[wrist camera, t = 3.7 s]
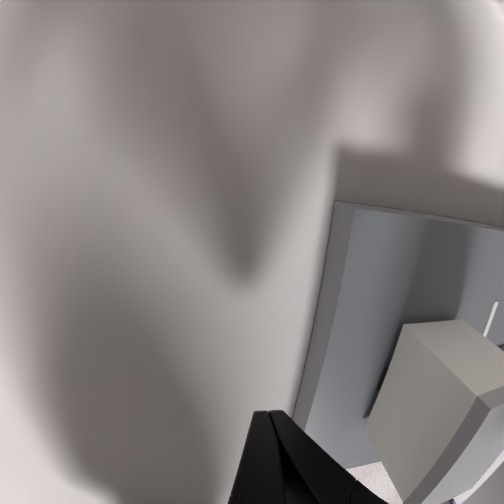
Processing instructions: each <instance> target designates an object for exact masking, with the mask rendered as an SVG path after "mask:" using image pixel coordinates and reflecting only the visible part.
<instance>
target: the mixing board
mask: <svg viewBox="0 0 504 504" xmlns="http://www.w3.org/2000/svg"><path fill="white" fill-rule="evenodd" d="M459 319H462V320H464V321H465V322H466V323H468V324H469V325H470V326H472V327H473V328H474V329H476V330H477V331H478V332H479V333H481V334H482V335H483V336H485V337H486V338H487V339H488V340H490V341H491V342H492V343H494V344H495V345H496V346H497V347H499V348H500V349H501V350H502V351H504V228H502V227H497V226H492V225H487V224H482V223H477V222H471V221H466V220H460V219H455V218H449V217H443V216H437V215H431V214H425V213H418V212H412V211H405V210H399V209H392V208H385V207H378V206H370V205H362V204H355V203H347V202H338V201H334V208H333V215H332V222H331V229H330V236H329V243H328V249H327V255H326V261H325V267H324V273H323V279H322V285H321V290H320V296H319V301H318V306H317V312H316V317H315V322H314V327H313V332H312V336H311V341H310V346H309V351H308V355H307V360H306V364H305V369H304V373H303V377H302V382H301V386H300V390H299V394H298V398H297V402H296V406H295V410H294V414H293V418H292V420H293V421H294V422H295V423H296V424H297V425H298V426H299V427H300V428H301V429H302V430H303V431H304V432H305V433H306V434H307V435H308V436H310V437H311V438H312V439H313V440H314V441H315V442H316V443H317V444H318V445H319V446H320V447H321V448H322V449H323V450H324V451H325V452H327V453H328V454H329V455H330V456H331V457H332V458H333V459H334V460H335V461H336V462H338V463H339V464H340V465H341V466H342V467H343V468H344V469H348V468H353V467H358V466H362V465H367V464H371V463H375V462H379V461H381V460H380V458H379V456H378V455H377V453H376V451H375V449H374V447H373V445H372V444H371V442H370V440H369V438H368V436H367V434H366V433H365V431H364V427H365V425H366V422H367V420H368V418H369V416H370V413H371V411H372V409H373V406H374V404H375V401H376V399H377V397H378V394H379V392H380V389H381V387H382V384H383V381H384V379H385V376H386V374H387V371H388V368H389V365H390V363H391V360H392V357H393V354H394V351H395V348H396V345H397V342H398V339H399V336H400V333H401V330H402V327H403V324H413V323H426V322H438V321H449V320H459Z"/></svg>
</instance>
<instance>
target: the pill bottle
mask: <svg viewBox="0 0 504 504" xmlns="http://www.w3.org/2000/svg"><path fill="white" fill-rule="evenodd" d="M441 504H456V502H455V501H454V499H453V498H452V499H450V500H448V501H446V502H443V503H441Z"/></svg>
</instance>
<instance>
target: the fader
mask: <svg viewBox="0 0 504 504" xmlns="http://www.w3.org/2000/svg"><path fill="white" fill-rule="evenodd" d="M364 431H365V433H366V434H367V436H368V438H369V440H370V442H371V444H372V445H373V447H374V449H375V451H376V453H377V455H378V456H379V458H380V460H381V462H382V464H383V466H384V467H385V469H386V471H387V473H388V475H389V477H390V479H391V480H392V482H393V484H394V486H395V488H396V490H397V492H398V493H399V495H400V497H401V499H402V501H403V504H441V503H443V502H446V501H448V500H450V499H452V498H454V497H456V496H458V495H460V494H461V493H463V492H465V491H467V490H469V489H471V488H472V487H473V486H474V485H475V484H476V483H477V481H478V480H479V479H480V478H481V477H482V476H483V475H484V473H485V472H486V471H487V470H488V469H489V467H490V466H491V465H492V464H493V462H494V461H495V460H496V459H497V457H498V456H499V455H500V453H501V452H502V451H503V449H504V351H502V350H501V349H500V348H499V347H497V346H496V345H495V344H494V343H492V342H491V341H490V340H488V339H487V338H486V337H485V336H483V335H482V334H481V333H479V332H478V331H477V330H476V329H474V328H473V327H472V326H470V325H469V324H468V323H466V322H465V321H464V320H462V319H459V320H449V321H438V322H426V323H413V324H403V327H402V330H401V333H400V336H399V339H398V342H397V345H396V348H395V351H394V354H393V357H392V360H391V363H390V365H389V368H388V371H387V374H386V376H385V379H384V381H383V384H382V387H381V389H380V392H379V394H378V397H377V399H376V401H375V404H374V406H373V409H372V411H371V413H370V416H369V418H368V420H367V422H366V425H365V427H364Z"/></svg>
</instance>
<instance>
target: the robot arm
mask: <svg viewBox="0 0 504 504" xmlns="http://www.w3.org/2000/svg"><path fill="white" fill-rule="evenodd" d="M355 480H356V478H354V477H353V476H352V475H351V474H350V473H349V472H348V471H347V470H345V469H344V468H343V467H342V466H341V465H340V464H339V463H338V462H336V461H335V460H334V459H333V458H332V457H331V456H330V455H329V454H328V453H327V452H325V451H324V450H323V449H322V448H321V447H320V446H319V445H318V444H317V443H316V442H315V441H314V440H313V439H312V438H311V437H310V436H308V435H307V434H306V433H305V432H304V431H303V430H302V429H301V428H300V427H299V426H298V425H297V424H296V423H295V422H294V421H293V420H292V419H291V418H290V417H289V416H288V415H287V414H286V413H285V412H284V411H282V410H270V411H254V413H253V416H252V420H251V424H250V427H249V431H248V435H247V438H246V442H245V446H244V449H243V453H242V456H241V460H240V464H239V467H238V471H237V474H236V478H235V481H234V484H233V488H232V491H231V495H230V497H229V501H228V504H388V503H387V502H385V501H384V500H382V499H381V498H379V497H378V496H377V495H375V494H374V493H373V492H371V491H370V490H369V489H368V488H366V487H365V486H364V485H363V484H362V483H360V482H359V481H358V480H356V481H355Z"/></svg>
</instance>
